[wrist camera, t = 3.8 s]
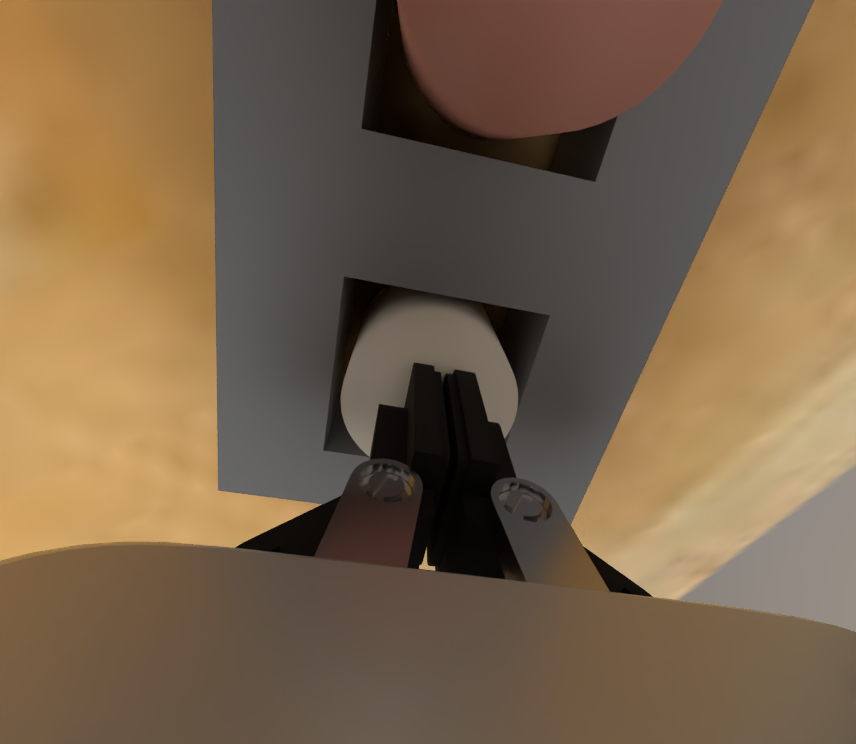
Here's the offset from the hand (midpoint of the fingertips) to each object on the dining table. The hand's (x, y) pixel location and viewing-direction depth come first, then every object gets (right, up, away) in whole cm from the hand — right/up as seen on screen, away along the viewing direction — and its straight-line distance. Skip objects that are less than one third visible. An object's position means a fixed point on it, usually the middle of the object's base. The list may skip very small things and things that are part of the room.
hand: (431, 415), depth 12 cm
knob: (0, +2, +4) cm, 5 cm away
